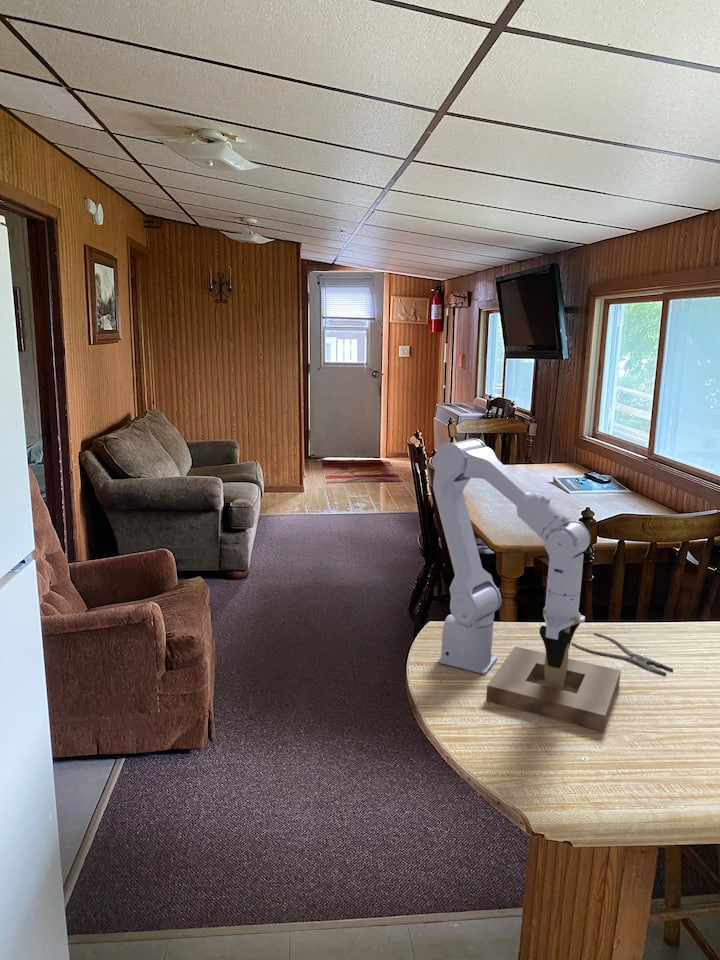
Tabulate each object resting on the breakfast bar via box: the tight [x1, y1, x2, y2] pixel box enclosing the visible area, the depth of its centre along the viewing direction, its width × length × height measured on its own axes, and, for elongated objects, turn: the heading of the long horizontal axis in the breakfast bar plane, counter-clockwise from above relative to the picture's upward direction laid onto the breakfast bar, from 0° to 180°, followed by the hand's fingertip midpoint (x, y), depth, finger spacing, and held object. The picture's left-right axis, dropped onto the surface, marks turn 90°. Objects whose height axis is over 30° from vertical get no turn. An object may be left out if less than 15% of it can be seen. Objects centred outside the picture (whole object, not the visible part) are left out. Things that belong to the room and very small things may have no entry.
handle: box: [542, 606, 582, 690], centre depth 127 cm, size 5×6×15 cm
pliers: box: [570, 632, 674, 676], centre depth 145 cm, size 10×1×20 cm
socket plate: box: [485, 646, 622, 733], centre depth 128 cm, size 20×18×3 cm
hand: (557, 661), depth 127 cm, fingers closed on handle, 4 cm apart
